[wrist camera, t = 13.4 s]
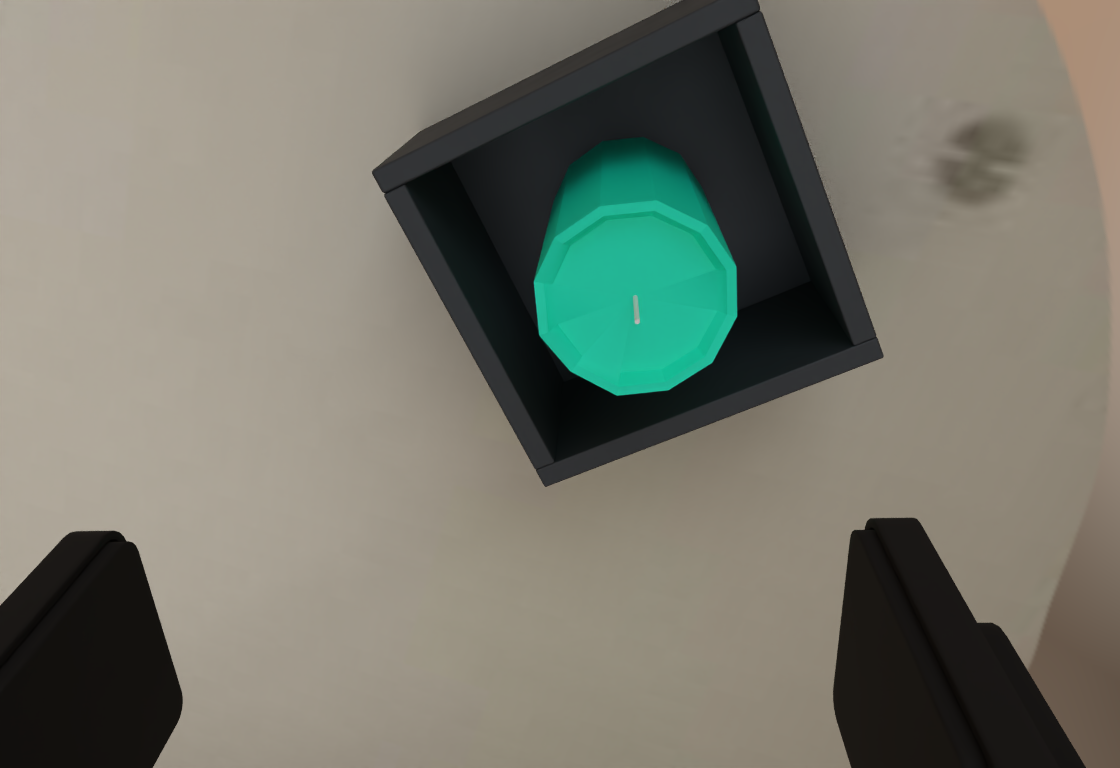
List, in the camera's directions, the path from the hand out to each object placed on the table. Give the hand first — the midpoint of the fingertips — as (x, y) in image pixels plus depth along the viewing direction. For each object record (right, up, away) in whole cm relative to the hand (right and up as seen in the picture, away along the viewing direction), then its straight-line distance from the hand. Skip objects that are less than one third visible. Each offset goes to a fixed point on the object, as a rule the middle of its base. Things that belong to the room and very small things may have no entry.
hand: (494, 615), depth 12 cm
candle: (+4, +10, +24) cm, 26 cm away
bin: (+4, +10, +24) cm, 26 cm away
